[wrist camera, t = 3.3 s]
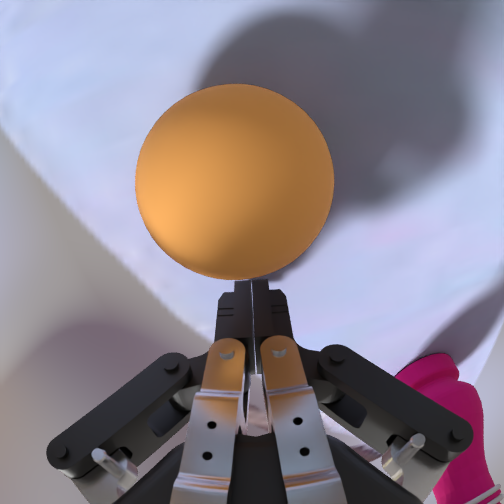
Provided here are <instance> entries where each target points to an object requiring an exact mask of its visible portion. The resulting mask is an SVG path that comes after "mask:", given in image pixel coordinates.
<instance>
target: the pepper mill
mask: <svg viewBox="0 0 504 504" xmlns="http://www.w3.org/2000/svg"><path fill="white" fill-rule="evenodd" d="M395 378H397V379H398V380H400V381H402V382H403V383H405V384H407V385H408V386H410V387H411V388H413V389H415V390H416V391H418V392H420V393H421V394H423V395H425V396H426V397H428V398H430V399H431V400H433V401H435V402H436V403H438V404H440V405H441V406H443V407H445V408H446V409H448V410H450V411H451V412H453V413H455V414H456V415H458V416H460V417H461V418H463V419H465V420H466V421H468V422H469V423H470V425H471V426H472V428H473V432H474V437H473V441H472V443H471V445H470V446H469V447H468V448H467V449H466V450H465V451H464V452H463V453H461V454H460V455H459V456H458V457H457V458H455V459H454V460H453V461H452V462H450V463H449V465H448V466H447V468H446V470H445V471H444V473H443V474H442V476H441V478H440V479H439V481H438V482H437V484H436V485H435V487H434V488H433V492H434V495H435V497H436V500H437V504H501V503H500V502H499V501H501V500H502V499H503V497H504V494H500V493H501V490H500V487H501V485H500V484H497V485H494V483H493V480H492V478H491V476H490V474H489V471H488V468H487V464H486V460H485V455H484V441H483V440H484V439H483V428H484V427H483V409H482V404H481V400H480V398H479V395H478V393H477V391H476V389H475V388H474V386H472V385H471V384H469V383H466V382H462V381H457V380H458V378H459V371H458V369H457V367H456V365H455V363H454V362H453V360H452V358H451V357H450V356H449V355H447V354H445V353H437V354H432V355H429V356H426V357H423V358H421V359H419V360H417V361H415V362H414V363H412V364H410V365H409V366H407V367H406V368H405V369H403V370H402V371H401V372H400V373H399V374H397V375H396V376H395Z"/></svg>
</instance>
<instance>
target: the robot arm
mask: <svg viewBox="0 0 504 504" xmlns="http://www.w3.org/2000/svg"><path fill="white" fill-rule="evenodd" d="M252 293H253V305H252ZM253 318H254V324H253ZM254 340H255V350H254ZM255 353H256V366H257V374H262V386H263V396H264V402H265V409H266V415H267V422H268V429H269V433H268V434H265V435H261V436H258V437H254V436H248V435H247V423H248V410H249V395H250V384H251V381H250V380H251V378H250V374H255ZM319 409H320V410H321V411H323V412H324V413H325V414H327V415H328V416H329V417H330V418H332V419H333V420H334V421H336V422H337V423H338V424H340V425H341V426H343V427H344V428H345V429H347V430H348V431H349V432H351V433H352V434H353V435H355V436H356V437H358V438H359V439H360V440H362V441H363V442H365V443H366V444H368V445H369V446H370V447H372V448H373V449H375V450H376V451H378V452H379V453H381V454H382V455H383V456H382V461H381V462H382V467H383V469H384V470H385V471H386V472H387V473H388V474H389V475H390V477H391V478H392V479H391V478H389V477H388V476H386V475H385V474H384V473H383V472H381V471H380V470H378V469H377V468H376V467H375V466H373V465H372V464H371V463H369V462H368V461H367V460H365V459H364V458H363V457H361V456H360V455H359V454H358V453H356V452H355V451H354V450H352V449H351V448H350V447H349V446H347V445H346V444H345V443H343V442H342V441H340V440H338V439H337V438H335V437H332V436H330V435H327V434H326V432H325V429H324V425H323V422H322V418H321V414H320V411H319ZM188 422H189V425H188V429H187V435H186V439H185V442H183V443H182V444H180V445H178V446H176V447H175V448H174V449H172V450H171V451H170V452H169V453H168V454H167V455H166V456H165V457H164V458H163V459H162V460H160V461H159V462H158V463H157V464H156V465H155V466H154V467H153V468H152V469H151V470H150V471H149V472H148V473H147V474H145V475H144V476H143V477H142V478H141V479H140V480H139V481H138V482H137V483H135V482H136V481H137V478H138V469H137V467H138V466H139V465H140V464H141V463H142V462H143V461H145V460H146V459H147V458H148V457H149V456H150V455H152V454H153V453H154V452H155V451H156V450H157V449H159V448H160V447H161V446H162V445H163V444H164V443H165V442H167V441H168V440H169V439H170V438H171V437H172V436H173V435H174V434H176V433H177V432H178V431H179V430H180V429H181V428H182V427H183V426H184V425H185V424H186V423H188ZM473 437H474V432H473V428H472V426H471V425H470V423H469V422H468V421H466V420H465V419H463V418H461V417H460V416H458V415H456V414H455V413H453V412H451V411H450V410H448V409H446V408H445V407H443V406H441V405H440V404H438V403H436V402H435V401H433V400H431V399H430V398H428V397H426V396H425V395H423V394H421V393H420V392H418V391H416V390H415V389H413V388H411V387H410V386H408V385H407V384H405V383H403V382H402V381H400V380H398V379H397V378H395V377H394V376H392V375H390V374H389V373H387V372H386V371H384V370H382V369H381V368H379V367H378V366H376V365H374V364H373V363H371V362H370V361H368V360H367V359H365V358H363V357H362V356H360V355H359V354H357V353H356V352H354V351H352V350H351V349H349V348H348V347H346V346H343V345H338V344H333V345H329V346H326V347H325V348H323V349H322V350H321V351H320V352H319V351H313V350H308V349H305V348H303V347H301V346H299V345H298V344H297V343H296V342H295V340H294V338H293V333H292V327H291V321H290V316H289V310H288V305H287V299H286V296H285V294H284V293H283V292H282V291H281V290H280V289H276V290H269V285H268V279H259V280H252V292H251V280H243V281H235V285H234V292H225V293H223V294H222V296H221V297H220V299H219V300H218V310H217V319H216V330H215V340H214V343H213V344H212V345H211V347H210V348H209V351H208V352H207V353H205V354H203V355H201V356H198V357H194V358H191V359H187V357H186V356H184V355H183V354H180V353H167V354H164V355H163V356H161V357H159V358H158V359H157V360H156V361H154V362H153V363H152V364H151V365H149V366H148V367H147V368H146V369H144V370H143V371H142V372H141V373H139V374H138V375H137V376H136V377H134V378H133V379H132V380H130V381H129V382H128V383H126V384H125V385H124V386H123V387H121V388H120V389H119V390H118V391H116V392H115V393H114V394H112V395H111V396H110V397H108V398H107V399H106V400H104V401H103V402H102V403H101V404H99V405H98V406H97V407H95V408H94V409H93V410H91V411H90V412H89V413H87V414H86V415H85V416H83V417H82V418H81V419H80V420H78V421H77V422H76V423H74V424H73V425H72V426H70V427H69V428H68V429H66V430H65V431H64V432H62V433H61V434H60V435H58V436H57V437H55V438H54V439H53V440H52V441H51V442H50V443H49V445H48V447H47V451H46V454H47V459H48V461H49V463H50V464H51V465H52V466H53V467H54V468H56V469H57V470H59V471H60V472H62V473H63V474H64V475H65V476H66V477H68V478H69V479H71V480H72V481H73V482H74V484H75V485H76V487H77V488H78V489H79V491H80V492H81V493H82V494H83V496H84V497H85V498H86V500H87V501H88V502H89V503H90V504H423V502H424V501H425V499H426V498H427V497H428V495H429V494H430V492H431V491H432V490H433V488H434V487H435V485H436V484H437V482H438V481H439V479H440V478H441V476H442V474H443V473H444V471H445V470H446V468H447V466H448V465H449V463H450V462H452V461H453V460H454V459H455V458H457V457H458V456H459V455H460V454H461V453H463V452H464V451H465V450H466V449H467V448H468V447H469V446H470V445H471V443H472V441H473ZM134 483H135V484H134Z"/></svg>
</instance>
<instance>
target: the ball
mask: <svg viewBox="0 0 504 504" xmlns="http://www.w3.org/2000/svg"><path fill="white" fill-rule="evenodd" d="M135 191H136V199H137V204H138V207H139V211H140V214H141V217H142V219H143V221H144V224H145V226H146V228H147V230H148V231H149V233H150V235H151V236H152V238H153V239H154V240H155V242H156V243H157V244H158V246H159V247H160V248H161V249H162V250H163V251H164V252H165V253H166V254H167V255H168V256H170V257H171V258H172V259H173V260H175V261H176V262H177V263H179V264H181V265H182V266H184V267H186V268H188V269H190V270H192V271H194V272H196V273H199V274H202V275H204V276H208V277H212V278H216V279H224V280H243V279H251V278H256V277H260V276H264V275H266V274H269V273H272V272H275V271H277V270H279V269H281V268H283V267H285V266H286V265H288V264H289V263H291V262H293V261H294V260H295V259H296V258H298V257H299V256H300V255H301V254H302V253H303V252H304V251H305V250H306V249H307V248H308V247H309V246H310V245H311V244H312V242H313V241H314V240H315V238H316V237H317V236H318V234H319V233H320V231H321V229H322V227H323V226H324V224H325V222H326V219H327V217H328V214H329V211H330V207H331V203H332V199H333V191H334V169H333V163H332V158H331V155H330V152H329V149H328V146H327V143H326V141H325V139H324V137H323V135H322V133H321V131H320V130H319V128H318V127H317V125H316V124H315V122H314V121H313V120H312V119H311V118H310V117H309V116H308V114H307V113H306V112H305V111H304V110H302V109H301V108H300V107H299V106H298V105H296V104H295V103H294V102H292V101H291V100H289V99H288V98H286V97H284V96H283V95H281V94H278V93H276V92H274V91H272V90H269V89H266V88H262V87H259V86H255V85H247V84H223V85H217V86H212V87H208V88H205V89H202V90H199V91H197V92H194V93H192V94H190V95H188V96H186V97H184V98H183V99H181V100H180V101H178V102H176V103H175V104H174V105H173V106H171V107H170V108H169V109H168V110H167V111H166V112H164V114H163V115H162V116H161V117H160V118H159V119H158V120H157V122H156V123H155V124H154V126H153V127H152V129H151V130H150V132H149V134H148V135H147V137H146V139H145V141H144V143H143V146H142V148H141V151H140V154H139V157H138V161H137V167H136V176H135Z"/></svg>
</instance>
